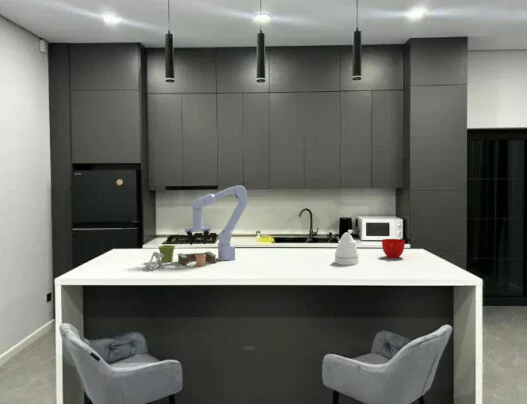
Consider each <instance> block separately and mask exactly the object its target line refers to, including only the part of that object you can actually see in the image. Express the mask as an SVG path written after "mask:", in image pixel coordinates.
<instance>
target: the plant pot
mask: <svg viewBox="0 0 527 404" xmlns="http://www.w3.org/2000/svg"><path fill="white" fill-rule="evenodd" d="M157 248H158V251H159V253H162V254H163V255H164V256H163V258H160V260H161V262H162V263H172V262H173V258H174V250H175V248H176V246H175V245H174V244H173V245H172V244H169V245H168V244H165V245H158V247H157Z"/></svg>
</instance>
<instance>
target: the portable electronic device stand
mask: <svg viewBox="0 0 527 404" xmlns="http://www.w3.org/2000/svg"><path fill="white" fill-rule="evenodd" d="M163 256H164V255H163V254H162V253H160V252H157V251H153V252H152V255H151V258H150V260H149V263H148V264H144V269H147V270H150V271H152V272H154V271H155V270H156V268H157V266H159V268H160V269H161V268H162V269H165V267H164V265H163V262H161V258H163ZM154 257H155V262H154V265H153V266H151V265H152V263H153V259H154Z"/></svg>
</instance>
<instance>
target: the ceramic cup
mask: <svg viewBox="0 0 527 404" xmlns="http://www.w3.org/2000/svg"><path fill="white" fill-rule="evenodd" d="M405 241H406V240H404V239H401V238H400V239H398V238H384V239H381V247H382V248H381V249H382V251H383V253H384V254H385V256H386V257H387V258H390V259H398V258H400V257H401V256H402V255H403V252H404V251H405V243H406V242H405Z"/></svg>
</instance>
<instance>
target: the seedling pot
mask: <svg viewBox="0 0 527 404" xmlns="http://www.w3.org/2000/svg"><path fill="white" fill-rule="evenodd" d="M195 257H196V261H195V266H196V267H197V268H199V267H200V268H203V267H206V266H207V265H206V260H205V257H206V254H196V255H195Z"/></svg>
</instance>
